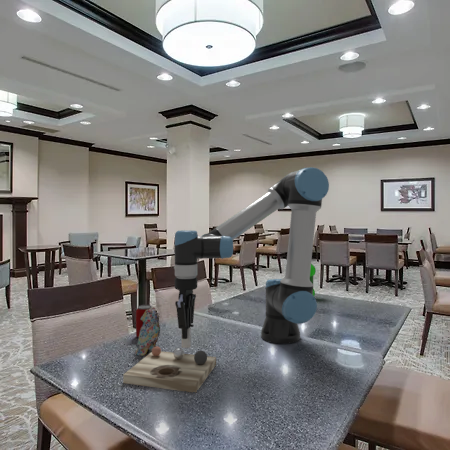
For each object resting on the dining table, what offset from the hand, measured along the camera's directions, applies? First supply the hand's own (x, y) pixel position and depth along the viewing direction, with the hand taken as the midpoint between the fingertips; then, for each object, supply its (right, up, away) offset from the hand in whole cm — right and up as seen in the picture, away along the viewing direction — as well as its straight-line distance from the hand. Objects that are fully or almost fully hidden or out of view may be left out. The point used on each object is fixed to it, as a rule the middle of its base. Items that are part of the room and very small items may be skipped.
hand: (186, 347), depth 120 cm
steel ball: (-2, 0, -6) cm, 7 cm away
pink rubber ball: (-9, 0, -4) cm, 10 cm away
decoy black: (+6, 0, -10) cm, 12 cm away
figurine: (-14, -4, +8) cm, 17 cm away
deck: (-3, -4, -11) cm, 12 cm away
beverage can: (-19, -4, +22) cm, 29 cm away
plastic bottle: (+60, -2, +87) cm, 106 cm away
